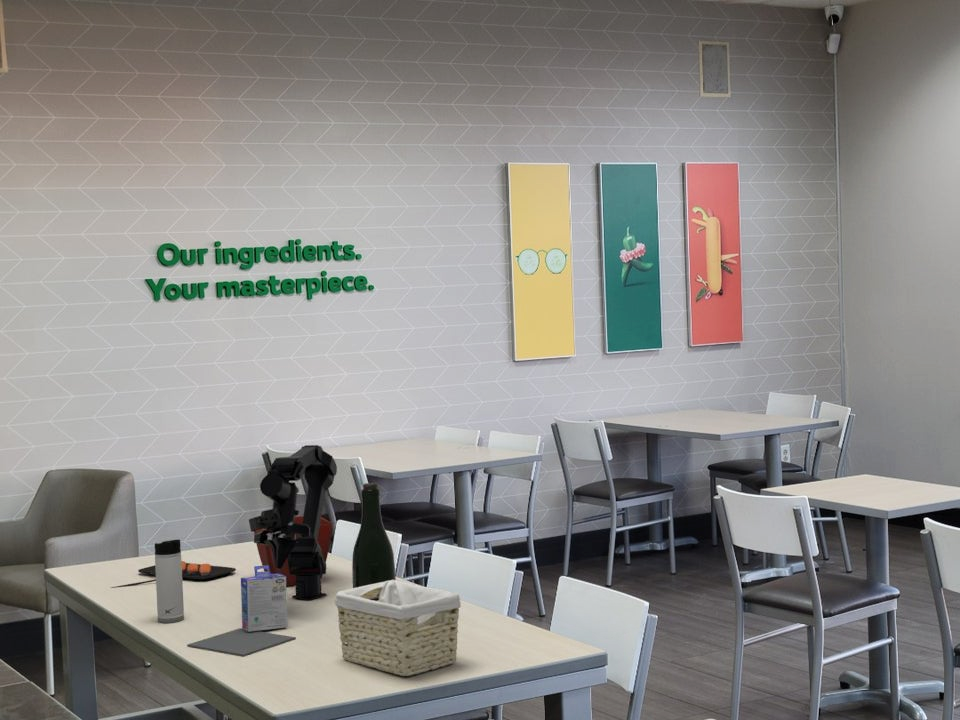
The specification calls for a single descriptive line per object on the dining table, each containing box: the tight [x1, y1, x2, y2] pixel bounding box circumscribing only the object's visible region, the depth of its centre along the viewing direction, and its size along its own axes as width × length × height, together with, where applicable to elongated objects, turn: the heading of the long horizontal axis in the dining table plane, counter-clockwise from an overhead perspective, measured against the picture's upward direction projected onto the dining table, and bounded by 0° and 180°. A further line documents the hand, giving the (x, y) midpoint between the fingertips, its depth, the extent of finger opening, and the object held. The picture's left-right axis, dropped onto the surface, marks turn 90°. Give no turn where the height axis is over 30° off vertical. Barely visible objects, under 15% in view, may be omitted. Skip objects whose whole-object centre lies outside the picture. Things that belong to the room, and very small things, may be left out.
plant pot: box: [253, 516, 333, 587], centre depth 332 cm, size 19×19×17 cm
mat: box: [186, 627, 297, 658], centre depth 267 cm, size 16×18×1 cm
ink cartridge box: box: [240, 565, 288, 632], centre depth 278 cm, size 10×6×14 cm, turn 120°
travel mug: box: [154, 538, 185, 624], centre depth 291 cm, size 6×7×20 cm
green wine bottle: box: [351, 482, 397, 601], centre depth 282 cm, size 10×10×33 cm
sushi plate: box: [110, 560, 237, 589], centre depth 342 cm, size 29×30×4 cm
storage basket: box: [334, 580, 462, 677], centre depth 247 cm, size 24×16×15 cm
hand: (278, 568), depth 290 cm, fingers closed
